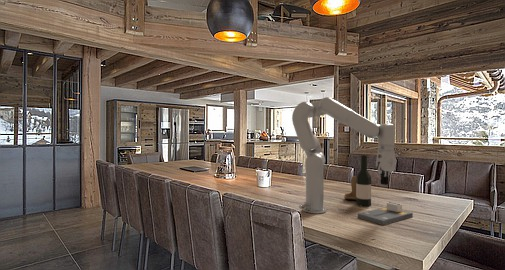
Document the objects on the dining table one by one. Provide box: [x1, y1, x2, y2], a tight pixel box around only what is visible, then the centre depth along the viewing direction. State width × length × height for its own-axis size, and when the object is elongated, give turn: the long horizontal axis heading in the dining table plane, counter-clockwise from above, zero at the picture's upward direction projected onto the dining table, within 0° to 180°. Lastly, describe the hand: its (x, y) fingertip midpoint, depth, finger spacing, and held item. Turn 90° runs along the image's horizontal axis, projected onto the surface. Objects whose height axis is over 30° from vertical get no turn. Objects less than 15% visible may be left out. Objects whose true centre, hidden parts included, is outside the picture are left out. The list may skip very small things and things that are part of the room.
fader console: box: [357, 206, 413, 226], centre depth 151 cm, size 25×14×2 cm, turn 123°
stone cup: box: [344, 175, 357, 201], centre depth 189 cm, size 15×12×15 cm
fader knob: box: [386, 201, 403, 212], centre depth 155 cm, size 4×6×4 cm, turn 33°
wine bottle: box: [355, 153, 372, 208], centre depth 176 cm, size 8×8×30 cm
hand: (384, 184), depth 151 cm, fingers closed
